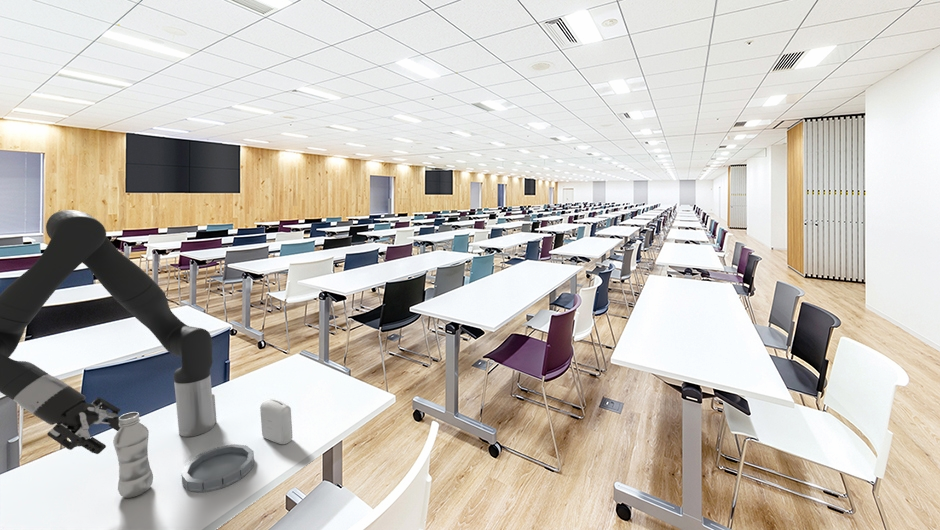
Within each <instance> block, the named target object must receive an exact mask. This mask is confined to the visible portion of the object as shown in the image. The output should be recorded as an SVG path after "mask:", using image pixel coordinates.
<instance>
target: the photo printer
mask: <svg viewBox="0 0 940 530" xmlns="http://www.w3.org/2000/svg"><path fill="white" fill-rule="evenodd" d="M259 409H260V410H259V411H260V424H261V435H262V437H263V438H264V439H266V440H269V441H270V442H273V443H276V444H278V445H279V444H280V445H286V444H288V443H290V442H292V439H293V424H292V410H291V407H290V406H289V404H287V403H286V402H284V401H282V400H280V399H278V398H277V399H276V398H267V399H266V400H263V401H262V402H261V403H260V408H259Z"/></svg>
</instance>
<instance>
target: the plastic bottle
mask: <svg viewBox="0 0 940 530" xmlns="http://www.w3.org/2000/svg"><path fill="white" fill-rule="evenodd" d="M118 418H119V427H121V428H120V429H119V430H118V431H116V434H115V435H114V437H113V442H112V443H113V447H114V450H115V453H116V456H117V461H118V467H119V468H118V469H119V470H118V473H119V474H118V483H117V491H118V494H119V496H120V497H122V498H124V499H131V498H134V497H138V496H140V495H142V494H144V493H145V492H147V491H148V490H149V489H150V487H151V486H152V484H153V482H154V473H153V470H152V468H151V466H150V465H151V464H150V460H149V453H148V449H149V448H148V446H149V433H150V432H149V429H148V428H147V426H145V424H143V423H141V422H140V421H141V417H140V414H139V412H136V411H131V412H128V413H124V414H122V415H120V416H119V417H118Z"/></svg>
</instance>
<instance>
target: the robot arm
mask: <svg viewBox="0 0 940 530" xmlns="http://www.w3.org/2000/svg"><path fill="white" fill-rule="evenodd" d="M45 230H46V234H47V236H48V238H49V239H50V240H49V242H48V244H47V246H46V247H45V249H44V251H43V253H42V254H41V255H40V257H39V258H38V259H37V260H36V261H35V262H34V264H32V266H31V267H30V268H28V269H27V270H25V272H24V273H23V274H21V275H20V276H19V277H17V278H16V279H15V280H14V281H12V282H11V283H10V284H9V285H8V286H7V287H6V288H5V289H3V290H2V292H1V293H0V393H1V394H2V395H4V396H6V397H8V398H9V399H10V400H12V401H14V402H15V403H17V405H19V406H20V407H21V408H22V409H23V410H26V411H28V412H29V413H30V414H31V415H33V416H36V418H39V419H40V420H41V421H43V422H44V423H46V424H48V425H51V426H53V425H54V426H53V427H52V428H51V429H50V430H49V431H48V432H47V436H48V437H49V438H51V439H53V440H54V441H55V442H57V443H58V444H60V445H61V446H63V447H65V448H66V449H67V450H69V451H70V450H71V451H72V450H73V449H75V448H77V447H82V448H84V449H85V450H87V451H89V452H90V453H92V454H95V455H99V454H101V453H102V451H103V450H105V448H106V447H107V446H106V444H105V443H103V442H101V441H100V440H99V439H97V438H95V437H93V436H91V435H90V432H89V429H90V427H92V426H93V425H99V424H105V425H108V427H110V428H112V429H114V430H115V431H116V432H118V430H119V429H120V428H121V427H119V417H118V415H119V413H120V412H121V409H120V408H118V407H117V406H116V405H113V404H112V403H110V402H108V401H107V400H105V399H103V398H101V397H96V398H95V399H94V400H93V401H92V402H91V403H89V402H86V397H87V396H86V395H84V394H82V393H81V392H79V391H78V390H76V389H75V388H73V387H72V386H70V385H69V384H68V383H65V382H64V380H61V379H59V378H58V377H55V376H53V375H51V374H49V373H48V372H46V371H45V370H43V369H42V368H40V367H38V366H37V365H35V364H34V363H32V362H30V361H24V360H15V359H14V358H13V359H12V358H10V357H11V356H12V354H13V353H15V351H16V349H17V347H18V345H19V343H20V341H21V340H22V338H23V335H24V332H25V329H26V328H27V327H28V325H29V324H30V323H31V322H32V320H34V318H35V317H36V316H37V314H38V313H39V312H40V311H41V309H42V308H43V306H44V305H45V304H46V302H47V301H48V300H49V299H50V298H51V296H52V295H53V294H54V292H55V291H56V290H57V289H58V288H59V287H60V286H61V285H62V284H63V282H64V281H65V280H66V279H67V278H68V277H69V276H70V275H71V274H72V273H73V272H74V271H75V270H76V269H77V268H78V267H79V266H80V265H81V264H83V265H85V266H86V268H87V269H89V271H90V272H91V273H92V274H93V275H94V276H95V278H96V279H97V281H98V282H99V283H100V284H101V286H102V287H103V288H104V289H105V290H106V291H107V292H108V294H110V296H111V297H112V298H113V299H114V300H115V301H116V302H117V303H119V305H121V306H122V307H123V308H124V309H125V310H126V311H127V312H128V313H130V314H131V315H132V316H133V317H134V318H135V319H137V321H138V322H140V323H141V324H142V325H144V326H145V327H146V328H147V329H148V330H149V331H150V332H151V333H152V334H153V335H154V337H155V338H156V339H157V341H159V343H160V344H161V345H162V346H163V348H164V349H165V350H166V351H167V353H170V354H171V355H173V356H175V357H181V367H179V368H177V369H176V370H174V372H173V382H174V392H175V394H174V395H175V404H176V405H175V406H176V414H177V427H178V434H179V435H180V437H186V438H187V437H188V438H191V437H195V436H199V435H202V434H204V433H207V432H209V431H211V430H212V428H214V426H215V424H216V423H217V410H216V409H217V408H216V398H215V394H213V392H212V391H213V390H212V389H213V388H212V379H211V377H212V376H211V369H212V366H213V357H214V356H213V339H212V336H211V334H210V331H208V330H207V329H204V328H201V327H196V326H189V325H187V324H185V323H184V322H183V321H182V320H181V319H180V318H178V317H177V316H176V315H175V314H174V312H173V311H172V310H171V308H170V305H169V301H168V299H167V295H166V293H165V292H164V290H163V289H162V288H161V286H159V284H157V283H156V281H154V279H153V278H152V277H151V276H150V275H149V274H148V273H147V272H145V271H144V270H143V269H142V268H141V267H140V266H139V265H137V264H136V263H134V262H133V261H132V260H131V259H129V258H128V257H127V256H125V255H124V254H123V253H122V252H120V250H119V249H118V248H117V247H116V246H115V245H114V244H113V242H111V240H110V239H109V238H108V237H107V231H106V228H105V226H104V225H103V224H102V222H100V221H99V220H98V219H97V218H95V217H93V216H92V215H90V214H88V213H87V212H84V211H79V210H75V209H74V210H73V209H63V210H60V211H57V212H56V211H55V213H53V214H51V215H50V216H49V217H48V219H47V221H46V225H45ZM108 410H110V411H111V412H110V411H108ZM68 439H69V440H68Z"/></svg>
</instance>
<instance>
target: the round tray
mask: <svg viewBox="0 0 940 530" xmlns="http://www.w3.org/2000/svg"><path fill="white" fill-rule="evenodd" d="M254 453H255V452H254V450H253V449H252V448H250V447H249V446H248V445H247V444H246V445H244V444H235V443H234V444H227V445H223V446H217V447H214V448H212V449H209V450H207V451H205V452H202V453H200V454H198V455H197V456H195V457H193V458H192V459H191V460H190V461H188V462H187V463H186V464H185V465H184V468H183V469H182V472H181V475H180V476H181V484H182V486H183V488H184V489H186V490H187V491H189V492H193V493H207V492H213V491H217V490H220V489H221V490H222V489H225V488H226V487H229V486H231V485H233V484H235V483H237V482H239V481H241V480H242V479H243V478H245V477H246V476H247V475H248V474H249V473H250V471H251V470H252V469H253V467H254V465H255V455H254Z"/></svg>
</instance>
